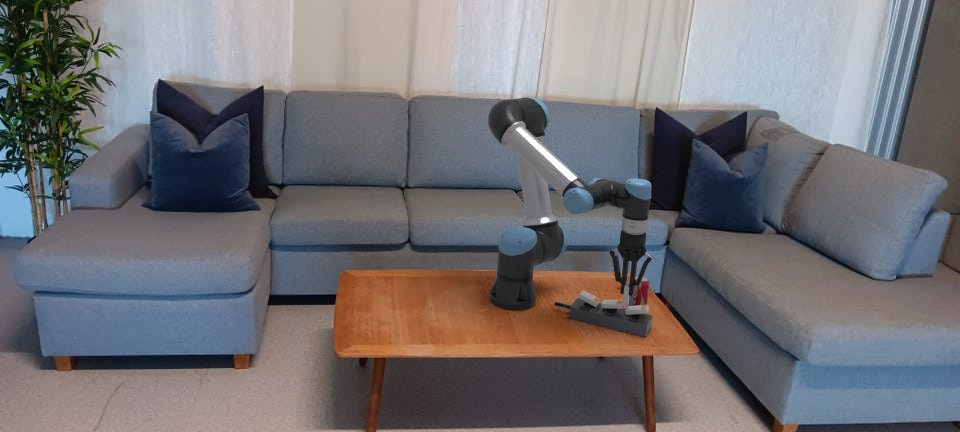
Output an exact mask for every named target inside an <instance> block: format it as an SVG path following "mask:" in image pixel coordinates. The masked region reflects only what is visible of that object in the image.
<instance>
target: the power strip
mask: <svg viewBox="0 0 960 432" xmlns="http://www.w3.org/2000/svg"><path fill="white" fill-rule="evenodd" d="M601 303H602V302H600V303H599V305H598V306H597V307H594V306H593V305H591V304H589V303H587V302H586V301H584V300H582V299H580V298H579V297H577V298H576V299H575V300H574V302H573V303H572V304H571V305H570V304H566V303H562V302H558V301H555V302H554V304H553V305H554V306H555V307H559V308H563V309H568V310H569V313H568V319H569V320H574V321H577V322H580V323H581V322H582V323H586V324H589V325H593V326H597V327H601V328H605V329H609V330H614V331H617V332H621V333H623V334H624V333H625V334H629V335H633V336H637V337H640V338H645V339H646V338H647V336H648V334H649V332H650V330H651V328H652V324H653V318H654V317H653V315H652V314H648V313H647V314H630V315H626V312H625V310H626V308H624V307H623V308H622V309H617V308H602V306H601Z"/></svg>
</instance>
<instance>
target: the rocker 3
mask: <svg viewBox="0 0 960 432" xmlns="http://www.w3.org/2000/svg"><path fill="white" fill-rule="evenodd" d="M625 309H626V310H625V312H626V315H630V314H648V312H649V311H650V305H649V304H647V305H639V306H628V307H627V308H626V307H625Z"/></svg>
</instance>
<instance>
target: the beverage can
mask: <svg viewBox="0 0 960 432" xmlns="http://www.w3.org/2000/svg"><path fill="white" fill-rule="evenodd" d="M638 275H639V274H636V278H635V280H637V278H638ZM649 280H650V279H649V278H648V277H647V276H645V275H644V276H643V278H642V281H641V283H640V284H639V285H638V286H637V285H636V286H634V293H633V295H632V296H630V298H629V304H628V305H627V306H625V309H626V308H627V307H628V306H639V305H648V298H649V292H650V286H651V283H650V282H649Z"/></svg>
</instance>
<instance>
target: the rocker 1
mask: <svg viewBox="0 0 960 432" xmlns="http://www.w3.org/2000/svg"><path fill="white" fill-rule="evenodd" d="M577 298H580V299H582V300H584V301H586V302H587V303H589V304H591V305H593V306H594V307H597V306H598V305H599V303H601V301H602V300H601V298H598V297H597V296H595V295H594V294H592V293H589V292H588V291H587V290H584V289H582V290H581V292H579V294H578V297H577Z"/></svg>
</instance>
